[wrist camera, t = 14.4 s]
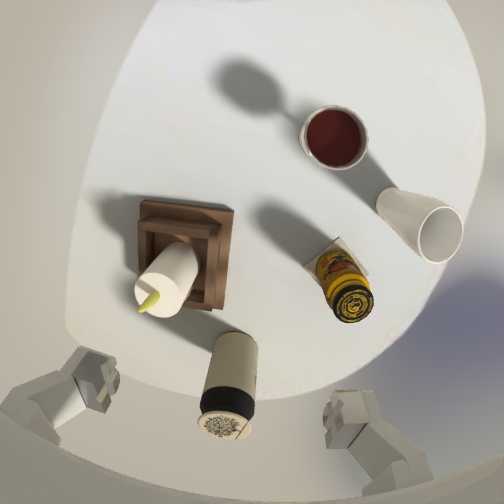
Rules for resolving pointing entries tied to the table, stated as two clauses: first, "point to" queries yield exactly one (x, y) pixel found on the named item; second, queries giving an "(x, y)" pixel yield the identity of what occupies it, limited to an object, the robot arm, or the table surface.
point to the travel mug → (230, 387)
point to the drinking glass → (422, 223)
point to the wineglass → (334, 137)
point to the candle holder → (195, 234)
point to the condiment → (342, 282)
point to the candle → (168, 280)
